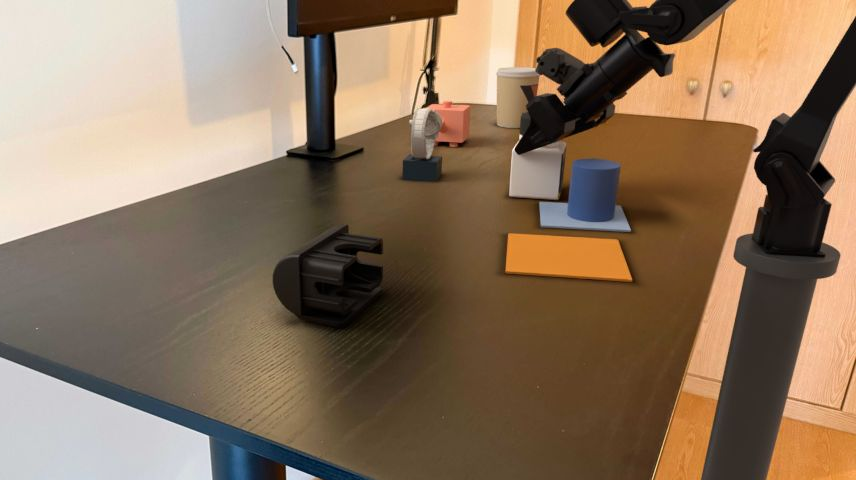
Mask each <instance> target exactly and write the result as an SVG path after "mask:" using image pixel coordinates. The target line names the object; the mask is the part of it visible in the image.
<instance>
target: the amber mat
mask: <svg viewBox="0 0 856 480" xmlns="http://www.w3.org/2000/svg"><path fill="white" fill-rule="evenodd" d="M506 245H507V246H506V258H505V259H506V261H505V274H508V275H509V274H510V275H523V276H524V275H525V276H537V277H552V278H568V279H580V280H597V281H611V282H624V283H625V282H626V283H633V277H632V275H631V271H630V269H629V266H628V264H627V261H626V258H625V255H624V252H623V250H622V247H621V243H620V241H619V239H618V238H617V239H616V238H599V237H581V236H579V237H578V236H567V235H566V236H564V235H547V234H545V235H544V234H528V233H513V232H511V233H510V232H508V233H507V244H506Z"/></svg>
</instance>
